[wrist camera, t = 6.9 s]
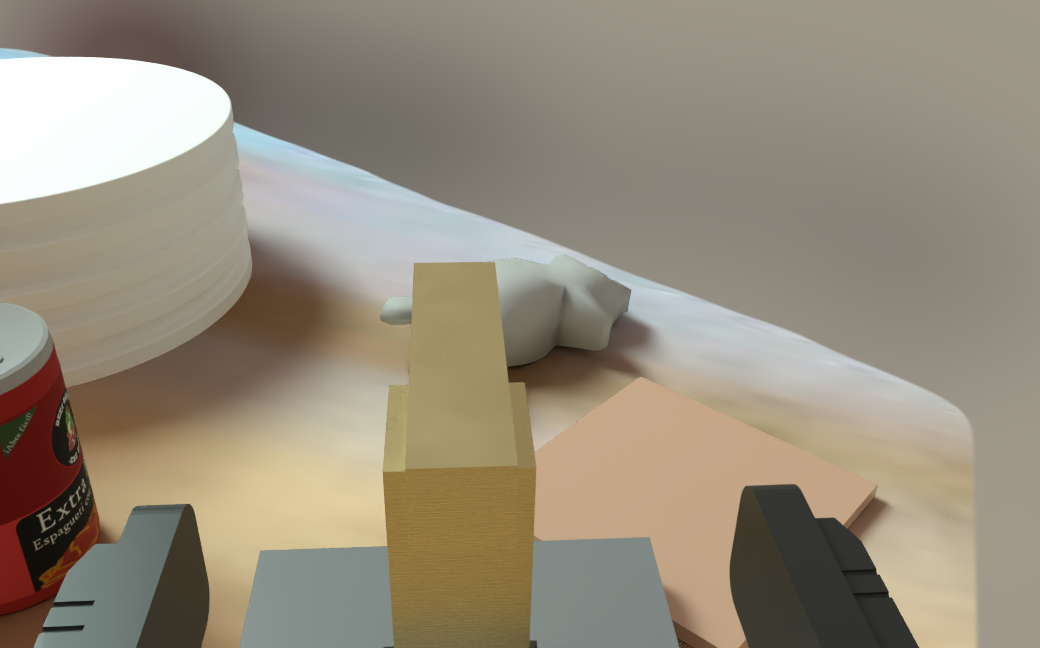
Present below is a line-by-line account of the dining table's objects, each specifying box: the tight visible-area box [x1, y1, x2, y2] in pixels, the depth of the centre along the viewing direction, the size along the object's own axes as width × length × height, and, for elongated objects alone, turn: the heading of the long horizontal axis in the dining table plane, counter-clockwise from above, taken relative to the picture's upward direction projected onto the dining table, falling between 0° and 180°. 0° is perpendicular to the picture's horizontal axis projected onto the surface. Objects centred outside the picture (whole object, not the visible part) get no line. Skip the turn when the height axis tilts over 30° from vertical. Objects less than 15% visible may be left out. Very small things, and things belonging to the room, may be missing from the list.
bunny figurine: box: [380, 255, 631, 367], centre depth 58 cm, size 10×5×15 cm
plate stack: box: [0, 57, 252, 388], centre depth 62 cm, size 28×28×12 cm
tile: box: [534, 376, 878, 648], centre depth 47 cm, size 14×14×1 cm
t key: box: [383, 262, 536, 648], centre depth 30 cm, size 10×4×18 cm, turn 4°
